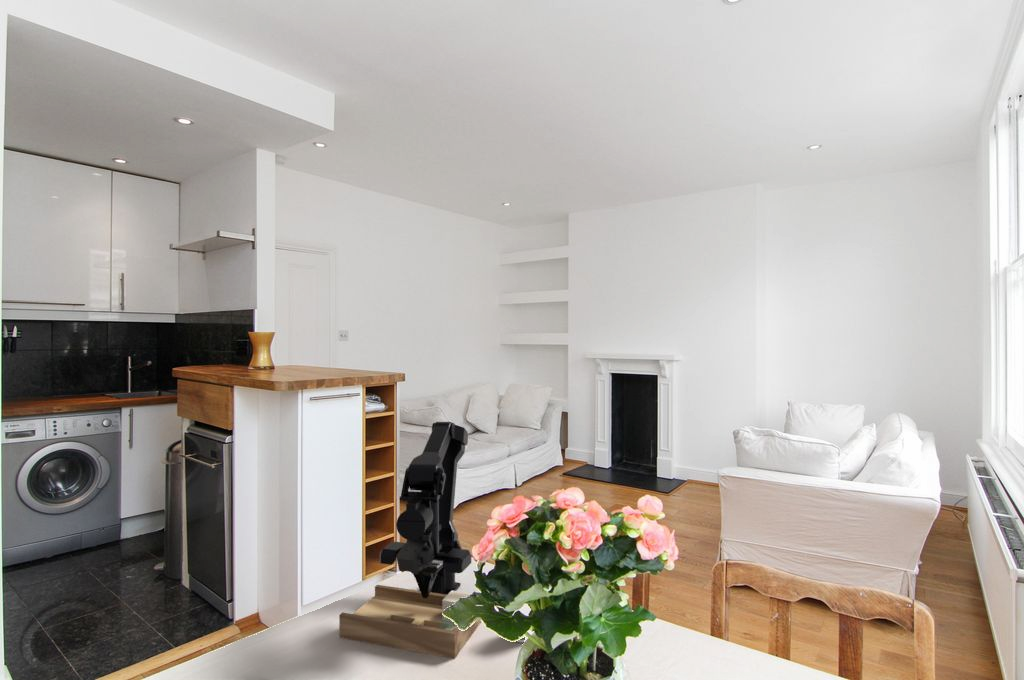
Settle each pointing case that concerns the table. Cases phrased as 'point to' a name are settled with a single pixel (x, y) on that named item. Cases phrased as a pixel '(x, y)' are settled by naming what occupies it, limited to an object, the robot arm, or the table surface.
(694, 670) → the table surface
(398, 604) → the box
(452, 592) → the block
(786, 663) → the table surface
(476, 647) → the table surface
